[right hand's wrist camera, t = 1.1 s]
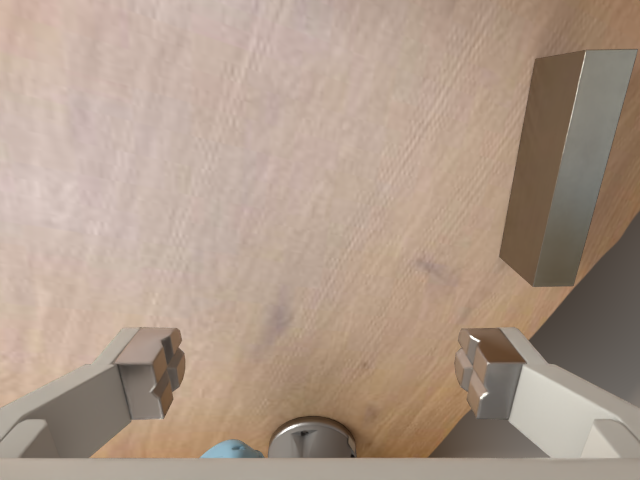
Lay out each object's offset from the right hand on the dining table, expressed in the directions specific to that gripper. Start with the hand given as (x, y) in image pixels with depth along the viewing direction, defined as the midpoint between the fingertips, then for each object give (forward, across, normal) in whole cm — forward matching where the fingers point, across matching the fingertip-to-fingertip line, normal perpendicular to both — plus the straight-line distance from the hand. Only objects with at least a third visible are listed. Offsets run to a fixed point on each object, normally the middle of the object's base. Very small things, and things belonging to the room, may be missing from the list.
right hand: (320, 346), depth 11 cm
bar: (+38, -27, +2) cm, 46 cm away
